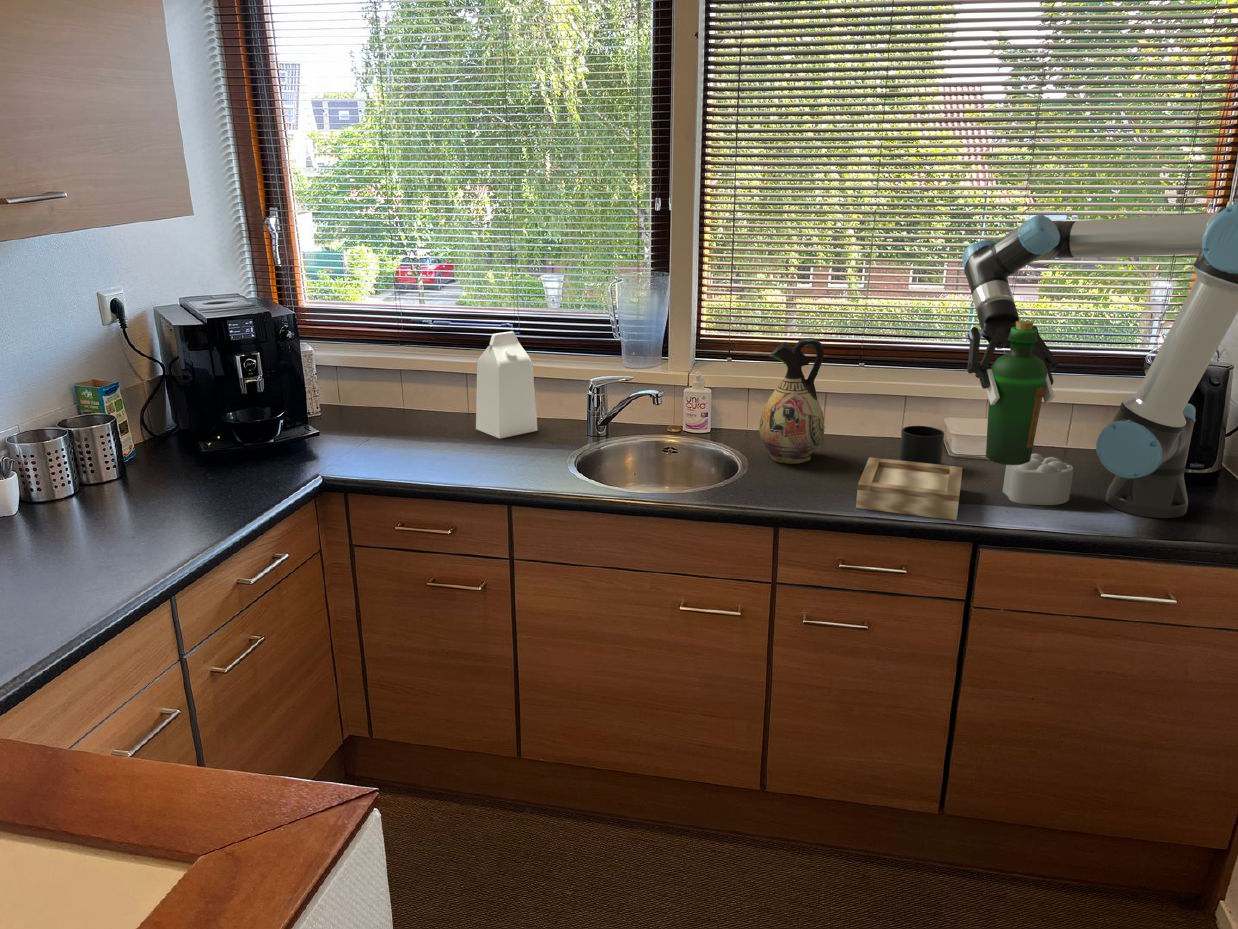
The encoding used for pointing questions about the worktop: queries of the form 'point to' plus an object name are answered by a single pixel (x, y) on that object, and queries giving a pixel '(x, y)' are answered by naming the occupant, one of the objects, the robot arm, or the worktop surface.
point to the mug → (921, 444)
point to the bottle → (1016, 399)
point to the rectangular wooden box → (910, 488)
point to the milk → (505, 389)
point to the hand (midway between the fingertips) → (1022, 400)
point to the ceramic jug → (794, 407)
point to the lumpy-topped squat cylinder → (1038, 481)
